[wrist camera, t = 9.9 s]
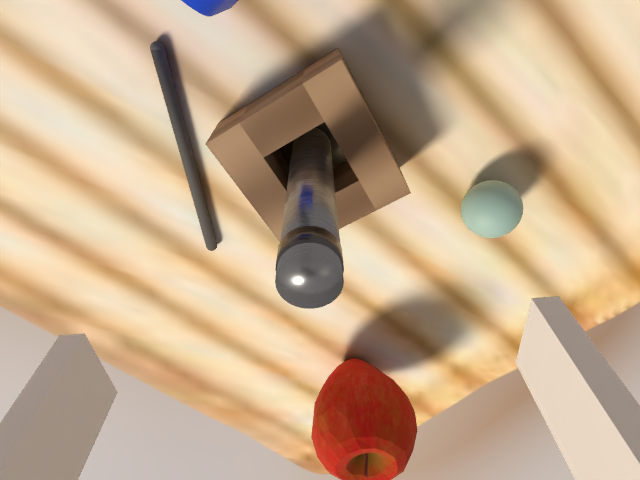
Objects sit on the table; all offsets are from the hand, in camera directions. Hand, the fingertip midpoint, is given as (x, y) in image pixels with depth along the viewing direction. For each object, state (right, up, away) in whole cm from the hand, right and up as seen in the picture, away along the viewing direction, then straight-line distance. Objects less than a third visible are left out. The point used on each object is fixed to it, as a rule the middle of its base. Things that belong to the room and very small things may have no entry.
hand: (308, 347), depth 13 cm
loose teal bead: (+12, +6, +18) cm, 23 cm away
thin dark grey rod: (-9, +9, +16) cm, 20 cm away
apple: (+4, -9, +28) cm, 29 cm away
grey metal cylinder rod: (0, +10, +16) cm, 19 cm away
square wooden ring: (0, +10, +16) cm, 19 cm away
